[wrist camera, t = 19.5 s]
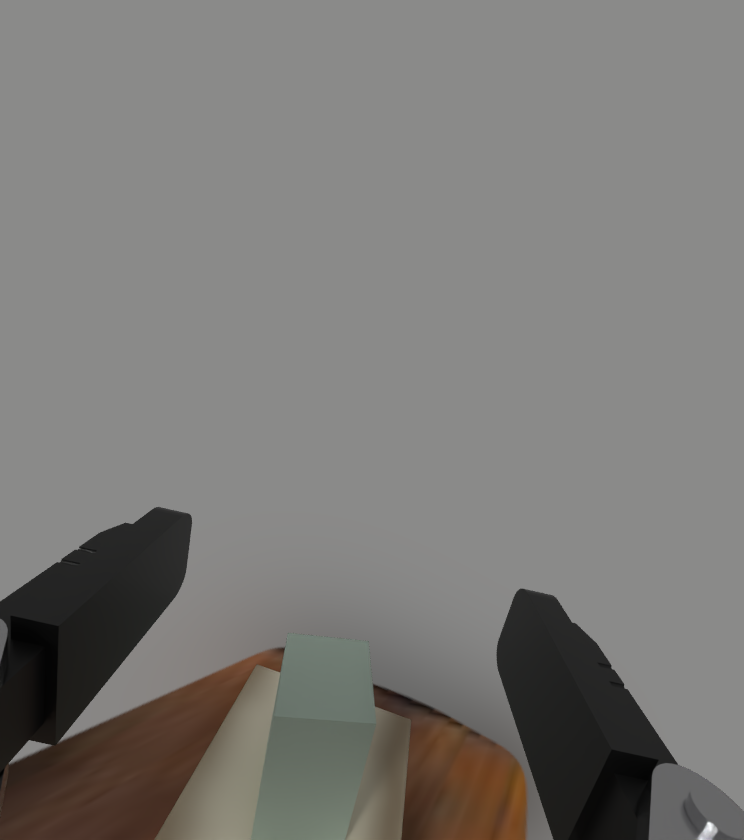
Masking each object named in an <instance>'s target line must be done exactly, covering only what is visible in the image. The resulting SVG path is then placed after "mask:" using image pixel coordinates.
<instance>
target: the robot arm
mask: <svg viewBox="0 0 744 840" xmlns="http://www.w3.org/2000/svg"><path fill="white" fill-rule="evenodd" d="M191 526H192V518H191V515H190V514H188V513H183V512H179V511H174V510H169V509H165V508H161V507H156V508H154V509H152V510H151V511H150V512H148V513H147V514H146V515H144V516H143V517H142V518H140V519H139V520H138V521H136V522H135V523H134V524H129V523H124V524H121V525H119V526H116V527H113V528H111V529H108V530H106V531H103V532H100V533H99V534H97V535H96V536H94V537H93V538H91V539H90V540H89V541H87V542H86V543H84V544H83V545H81V546H80V547H79V549H78V550H74V551H73V552H71V553H70V554H68V555H67V556H65V557H64V558H63V559H62V560H61V562H60V563H58V562H57V563H55V564H54V565H52V566H51V567H50V568H48V569H47V570H45V571H44V572H42V573H41V574H39V575H38V576H36V577H35V578H34V579H32V580H31V581H29V582H28V583H26V584H25V585H23V586H22V587H21V588H19V589H18V590H16V591H15V592H13V593H12V594H10V595H9V596H8V597H6V598H5V599H3V600H2V601H0V816H1V811H2V805H3V800H4V794H5V789H6V784H7V778H8V771H9V762H10V761H11V760H12V759H13V757H14V756H15V755H16V754H17V753H18V752H19V751H20V750H21V748H22V747H23V746H24V745H25V744H26V743H27V741H28V740H31V741H36V742H41V743H45V744H50V745H56V744H57V743H58V742H59V740H60V739H61V738H62V737H63V735H64V734H65V733H66V732H67V730H68V729H69V728H70V727H71V725H72V724H73V723H74V722H75V720H76V719H77V718H78V717H79V716H80V714H81V713H82V712H83V711H84V709H85V708H86V707H87V706H88V704H89V703H90V702H91V701H92V700H93V698H94V697H95V696H96V694H97V693H98V692H99V691H100V690H101V688H102V687H103V686H104V685H105V683H106V682H107V681H108V679H109V678H110V677H111V676H112V675H113V673H114V672H115V671H116V670H117V669H118V667H119V666H120V665H121V664H122V662H123V661H124V660H125V659H126V657H127V656H128V655H129V654H130V652H131V651H132V650H133V649H134V647H135V646H136V645H137V643H139V641H140V640H141V639H142V638H143V636H144V635H145V634H146V633H147V631H148V630H149V629H150V628H151V626H152V625H153V624H154V623H155V622H156V620H157V619H158V618H159V617H160V615H161V614H162V613H163V612H164V610H165V609H166V608H167V607H168V605H169V604H170V602H172V600H173V599H174V598H175V596H176V595H177V593H178V591H179V589H180V587H181V585H182V583H183V580H184V577H185V573H186V568H187V559H188V551H189V543H190V534H191ZM497 666H498V671H499V674H500V677H501V680H502V683H503V686H504V689H505V692H506V695H507V698H508V701H509V704H510V708H511V711H512V713H513V717H514V720H515V723H516V726H517V729H518V732H519V735H520V738H521V741H522V744H523V747H524V751H525V753H526V756H527V760H528V763H529V766H530V769H531V772H532V775H533V778H534V781H535V784H536V787H537V790H538V793H539V796H540V800H541V803H542V806H543V808H544V812H545V815H546V818H547V821H548V824H549V827H550V830H551V833H552V836H553V839H554V840H744V811H743V810H742V809H741V808H740V807H739V806H738V805H737V804H736V803H735V802H734V801H733V800H732V799H730V798H729V797H728V796H727V795H726V794H725V793H724V792H722V791H721V790H720V789H719V788H717V787H716V786H715V785H713V784H712V783H711V782H709V781H708V780H707V779H705V778H703V777H702V776H700V775H699V774H697V773H695V772H693V771H691V770H689V769H687V768H685V767H682V766H680V765H678V764H677V762H676V761H675V759H674V758H673V756H672V755H671V753H670V752H669V750H668V749H667V748H666V746H665V744H664V743H663V741H662V740H661V739H660V737H659V736H658V734H657V733H656V731H655V730H654V728H653V727H652V725H651V724H650V722H649V721H648V719H647V718H646V716H645V715H644V713H643V712H642V710H641V709H640V707H639V706H638V704H637V703H636V701H635V700H634V698H633V697H632V695H631V694H630V692H629V691H628V690H627V689H625V688H624V683H623V682H622V680H621V679H620V678H619V676H618V674H617V673H616V672H615V670H612V669H611V664H610V663H609V661H608V660H607V658H606V657H605V656H604V654H603V652H602V651H601V649H600V648H599V646H598V645H597V643H596V642H595V641H593V640H592V639H591V638H590V637H589V636H588V635H587V634H586V633H585V632H584V631H583V630H582V629H581V628H580V627H579V626H578V625H577V624H575V623H572V622H571V620H570V619H569V617H568V616H567V614H566V612H565V611H564V610H563V608H562V606H561V605H560V603H559V602H558V600H557V599H556V598H555V597H554V596H552V595H548V594H544V593H539V592H535V591H530V590H525V589H519V590H518V591H517V592H516V594H515V596H514V599H513V601H512V605H511V607H510V610H509V613H508V615H507V618H506V621H505V624H504V627H503V629H502V632H501V635H500V638H499V641H498V645H497Z"/></svg>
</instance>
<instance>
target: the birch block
mask: <svg viewBox="0 0 744 840" xmlns="http://www.w3.org/2000/svg"><path fill="white" fill-rule="evenodd" d="M279 678H280V673H279V672H277V671H274V670H271V669H268V668H265V667H263V666H260V665H256V667H255V668H254V670H253V672H252V674H251V675H250V677H249V679H248V680H247V682H246V684H245V686H244V687H243V689H242V691H241V692H240V694H239V696H238V698H237V699H236V701H235V703H234V704H233V706H232V708H231V710H230V711H229V713H228V715H227V716H226V718H225V720H224V721H223V723H222V725H221V727H220V728H219V730H218V732H217V733H216V735H215V737H214V739H213V740H212V742H211V744H210V745H209V747H208V749H207V751H206V752H205V754H204V756H203V757H202V759H201V761H200V763H199V764H198V766H197V768H196V769H195V771H194V773H193V775H192V776H191V778H190V780H189V781H188V783H187V785H186V787H185V788H184V790H183V792H182V793H181V795H180V797H179V799H178V800H177V802H176V804H175V805H174V807H173V809H172V811H171V812H170V814H169V816H168V817H167V819H166V821H165V823H164V824H163V826H162V828H161V829H160V831H159V833H158V834H157V836H156V838H155V840H251V836H252V830H253V824H254V818H255V812H256V806H257V801H258V795H259V789H260V783H261V777H262V771H263V765H264V760H265V754H266V748H267V742H268V737H269V731H270V726H271V721H272V715H273V710H274V705H275V699H276V694H277V689H278V683H279ZM375 715H376V727H375V731H374V734H373V738H372V742H371V746H370V749H369V753H368V757H367V760H366V764H365V768H364V772H363V775H362V779H361V783H360V786H359V790H358V794H357V798H356V801H355V805H354V809H353V812H352V816H351V820H350V824H349V827H348V831H347V835H346V838H345V840H401V837H402V825H403V813H404V801H405V789H406V777H407V765H408V753H409V741H410V729H411V719H408V718H405V717H402V716H400V715H397V714H394V713H391V712H388V711H386V710H383V709H380V708H377V707H375Z"/></svg>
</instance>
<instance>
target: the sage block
mask: <svg viewBox="0 0 744 840" xmlns="http://www.w3.org/2000/svg"><path fill="white" fill-rule="evenodd" d="M375 727H376V715H375V704H374V693H373V683H372V673H371V662H370V651H369V642H368V641H361V640H351V639H342V638H332V637H322V636H313V635H302V634H294V633H288V635H287V641H286V646H285V651H284V657H283V662H282V667H281V673H280V678H279V683H278V689H277V694H276V699H275V705H274V710H273V715H272V721H271V726H270V731H269V737H268V742H267V748H266V754H265V760H264V765H263V771H262V777H261V783H260V789H259V795H258V801H257V806H256V812H255V818H254V824H253V830H252V836H251V840H345V838H346V835H347V831H348V827H349V824H350V820H351V816H352V812H353V809H354V805H355V801H356V798H357V794H358V790H359V786H360V783H361V779H362V775H363V772H364V768H365V764H366V760H367V757H368V753H369V749H370V746H371V742H372V738H373V734H374V731H375Z"/></svg>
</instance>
